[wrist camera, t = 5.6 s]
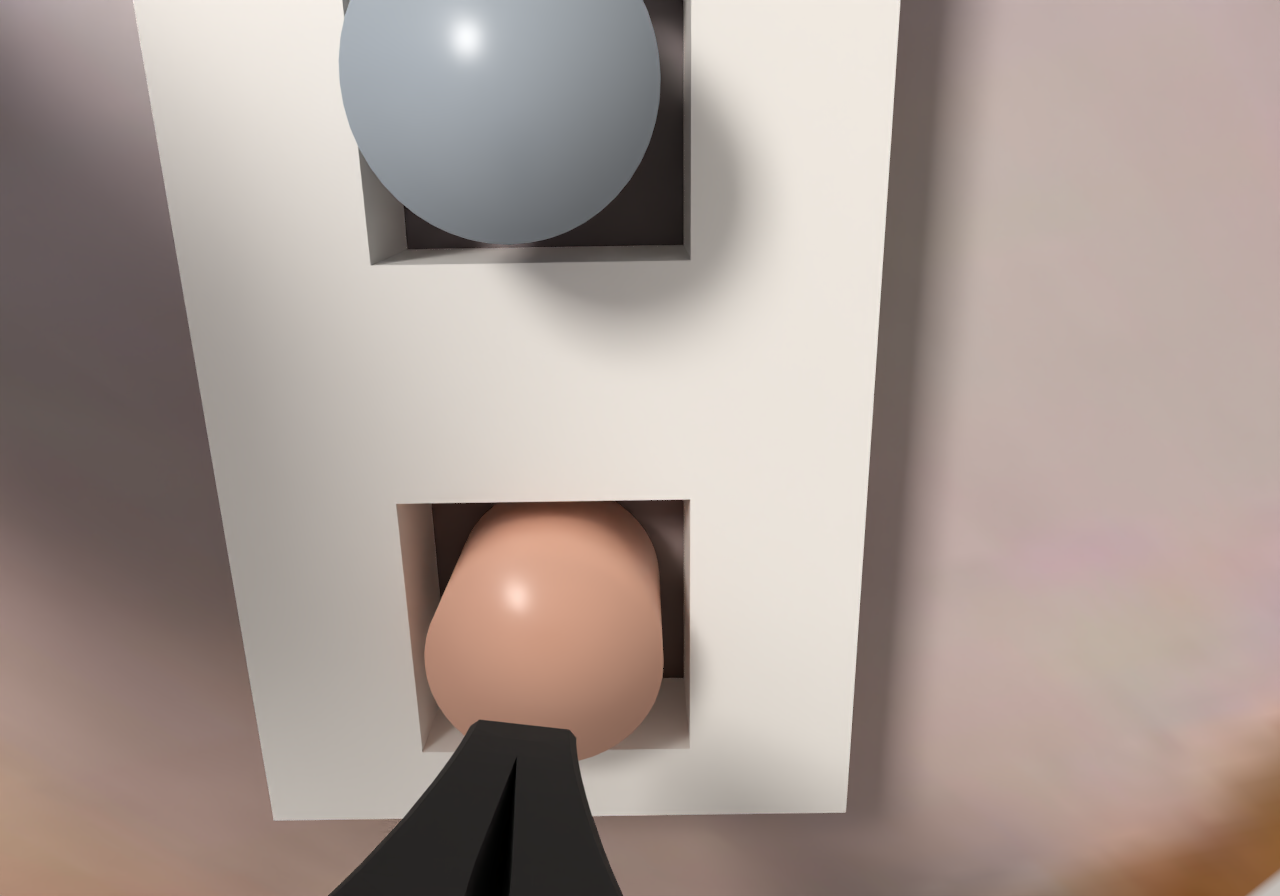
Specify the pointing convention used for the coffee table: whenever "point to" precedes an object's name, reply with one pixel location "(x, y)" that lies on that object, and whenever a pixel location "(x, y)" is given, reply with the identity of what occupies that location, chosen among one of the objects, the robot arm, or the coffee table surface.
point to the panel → (537, 397)
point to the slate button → (501, 108)
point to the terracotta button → (551, 623)
